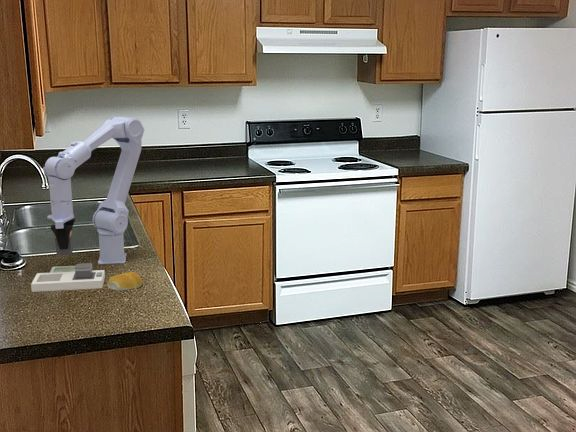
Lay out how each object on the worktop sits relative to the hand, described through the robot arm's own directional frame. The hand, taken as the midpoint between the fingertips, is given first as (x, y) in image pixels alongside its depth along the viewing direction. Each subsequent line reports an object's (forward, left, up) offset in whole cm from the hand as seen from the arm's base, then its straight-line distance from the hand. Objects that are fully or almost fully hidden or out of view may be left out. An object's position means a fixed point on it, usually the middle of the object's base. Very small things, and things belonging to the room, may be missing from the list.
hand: (65, 246), depth 187 cm
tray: (0, 0, -8) cm, 8 cm away
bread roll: (+13, +17, -9) cm, 23 cm away
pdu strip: (+10, +2, -8) cm, 13 cm away
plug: (0, 0, -2) cm, 2 cm away
